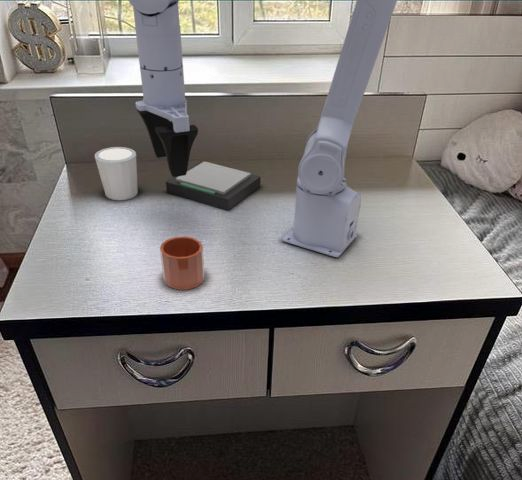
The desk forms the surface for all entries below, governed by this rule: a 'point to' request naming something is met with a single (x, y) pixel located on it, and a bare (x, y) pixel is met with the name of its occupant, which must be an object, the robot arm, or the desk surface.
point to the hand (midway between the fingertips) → (170, 165)
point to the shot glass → (118, 172)
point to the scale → (214, 185)
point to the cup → (182, 262)
